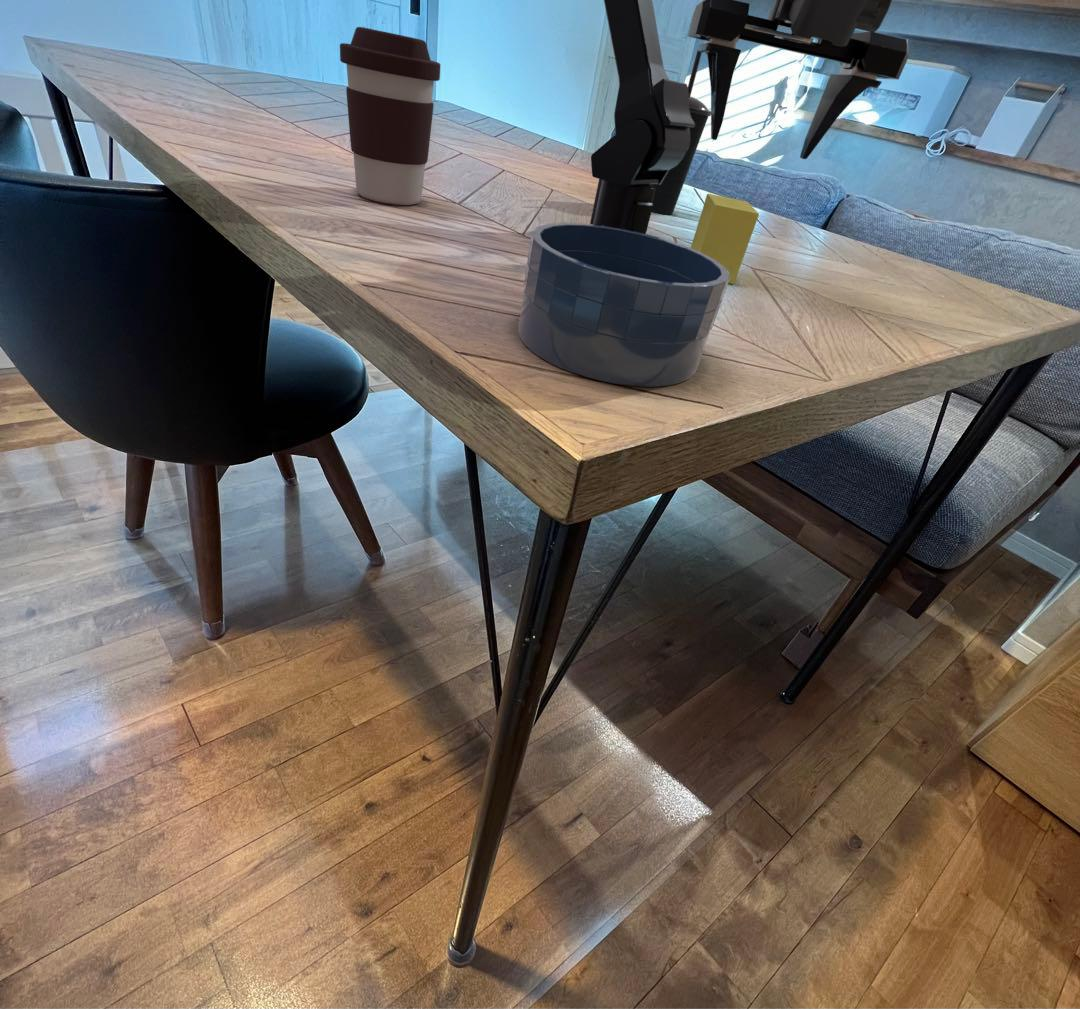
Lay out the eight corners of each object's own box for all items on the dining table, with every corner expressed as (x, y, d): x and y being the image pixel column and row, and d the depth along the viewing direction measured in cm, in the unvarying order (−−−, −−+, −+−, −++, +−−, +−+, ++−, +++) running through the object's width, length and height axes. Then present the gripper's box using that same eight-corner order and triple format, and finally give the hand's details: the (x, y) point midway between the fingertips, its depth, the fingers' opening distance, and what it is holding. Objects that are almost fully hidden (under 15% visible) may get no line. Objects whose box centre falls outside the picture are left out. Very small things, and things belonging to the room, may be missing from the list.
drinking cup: (681, 220, 88) (729, 54, 76) (631, 209, 88) (671, 42, 77) (681, 211, 94) (726, 57, 82) (635, 201, 95) (672, 46, 83)
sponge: (687, 259, 68) (707, 193, 64) (724, 267, 68) (747, 201, 64) (692, 275, 63) (715, 204, 59) (733, 284, 63) (759, 213, 59)
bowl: (483, 315, 43) (494, 220, 39) (616, 305, 50) (636, 224, 46) (594, 399, 35) (622, 290, 31) (734, 373, 42) (770, 282, 38)
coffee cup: (390, 212, 62) (392, 34, 53) (324, 189, 66) (316, 17, 57) (450, 206, 70) (461, 48, 61) (388, 185, 73) (390, 32, 64)
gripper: (745, -116, 42) (677, 137, 51) (991, -57, 43) (880, 181, 52) (717, -84, 51) (663, 126, 60) (921, -36, 52) (837, 164, 61)
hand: (758, 149), depth 58 cm, fingers open, 9 cm apart
